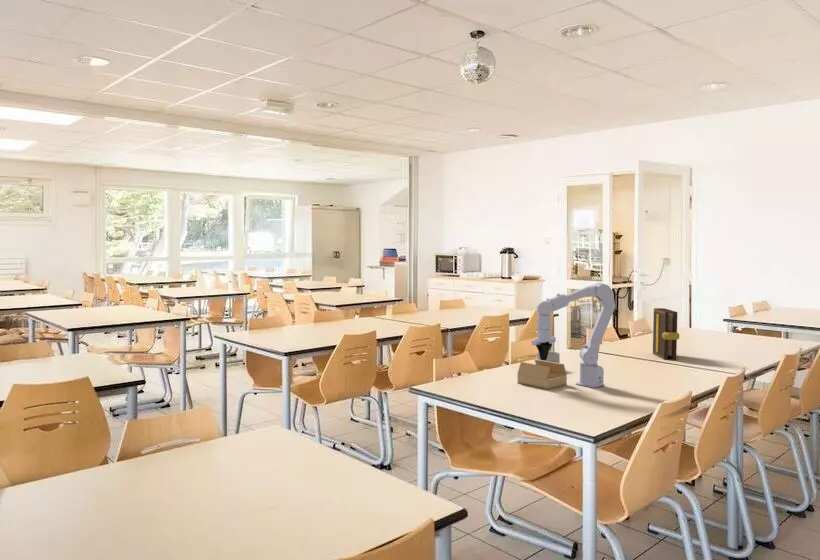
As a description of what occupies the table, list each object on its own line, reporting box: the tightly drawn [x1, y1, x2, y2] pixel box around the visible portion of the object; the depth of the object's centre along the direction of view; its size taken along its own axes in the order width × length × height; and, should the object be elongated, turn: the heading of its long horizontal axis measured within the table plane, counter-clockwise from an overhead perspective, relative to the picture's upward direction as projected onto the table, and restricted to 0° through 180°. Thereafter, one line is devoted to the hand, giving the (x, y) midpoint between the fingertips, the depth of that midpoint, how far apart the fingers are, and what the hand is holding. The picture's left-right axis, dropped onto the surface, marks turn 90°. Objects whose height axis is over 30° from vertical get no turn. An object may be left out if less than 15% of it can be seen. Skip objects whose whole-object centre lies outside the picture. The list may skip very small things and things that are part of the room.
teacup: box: [536, 350, 561, 363], centre depth 306 cm, size 14×11×8 cm
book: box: [652, 307, 680, 361], centre depth 336 cm, size 22×8×25 cm, turn 178°
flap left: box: [516, 361, 550, 380], centre depth 268 cm, size 15×6×1 cm
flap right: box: [534, 358, 567, 376], centre depth 276 cm, size 15×6×1 cm
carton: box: [517, 372, 568, 391], centre depth 272 cm, size 16×13×4 cm
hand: (543, 360), depth 273 cm, fingers closed
